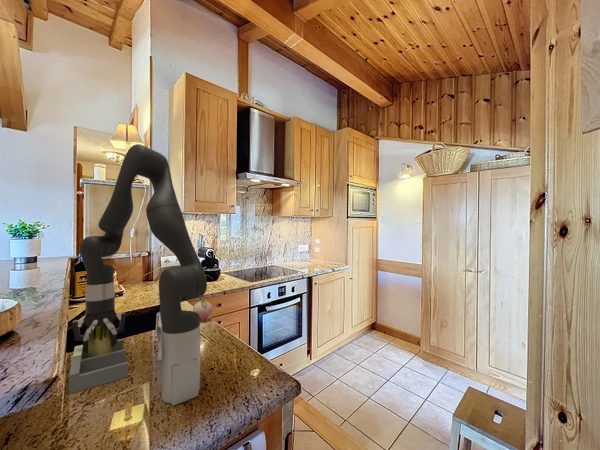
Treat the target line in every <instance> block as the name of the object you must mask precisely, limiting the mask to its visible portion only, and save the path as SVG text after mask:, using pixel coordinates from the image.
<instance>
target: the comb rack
mask: <svg viewBox="0 0 600 450" xmlns="http://www.w3.org/2000/svg"><path fill="white" fill-rule="evenodd" d="M73 349H74V350H73V353H72V354H73V355H72V359H71V365H70V368H69V369H70V370H69V373H68V374H69V375H68V395H73V394H75V393H76V394H77V393H79V392H82V391H85V390H88V389H89V390H90V389H92V388H95V387H99V386H103V385H106V384H109V383H112V382H116V381H119V380H122V379H126V378H129V361H126V360H127V358H126V353H127V352H126V351H127V350H126V348H124V338H121V339H120V338H119V339H117V343H116V344H114V346H113V347H112V352H111V353H107V354H103V355H99V356H94V357H90V358H89V357H88V352H87V353H86V351H83V344H80V345H75V346H74V348H73ZM72 393H73V394H72Z"/></svg>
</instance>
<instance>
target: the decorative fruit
mask: <svg viewBox="0 0 600 450" xmlns="http://www.w3.org/2000/svg"><path fill="white" fill-rule="evenodd" d="M192 311H193V312H196V313H198V314H199V316H200V320H202V321H204V319H205V320H207V319H208V318H209V317H210V315H211V314H212V312H213V305H212V304H211V303H210V302H208V301H207V300H206V299H204V298H202V299H200V300H199V301H198V302H196V303H195V304H194V306H193V307H192Z"/></svg>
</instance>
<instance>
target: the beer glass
mask: <svg viewBox="0 0 600 450" xmlns="http://www.w3.org/2000/svg"><path fill="white" fill-rule="evenodd" d="M155 332H156V333H155V334H156V338H157V343H158V344H157V345H158V353H157V359H156V360H157V361H159V362H162V323H161V317H160V311H158V312H157V313H156V318H155Z"/></svg>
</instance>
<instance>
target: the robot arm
mask: <svg viewBox="0 0 600 450" xmlns="http://www.w3.org/2000/svg"><path fill="white" fill-rule="evenodd" d="M124 155H125V156H124V158H123V160H122V163H121V165H120V166H121V167H120V170H119V172H118V175H117V179H116V182H115V185H114V189H113V192H112V194H111V197H110V200H109V202H108V204H107V206H106V208H105V210H104V212H103V214H102V216H101V217H100V219H99V221H98V224H97V226H98V228H99V229H100V230H101V231H103V232H104V234H103V235H89V236H86V237H84V238H83V239H82V241H81V243H80V244H79V254H80V257H81V260H82V262H83V263H82V264H83V266H84V268H85V271H86V288H85V316H84V318H82V319H74V320H73V322H72V323H71V324H72V329H73V334H74V340H75V341H76V342H78V341H81V342H82V345H83V351H86V353H87V352H88V345H89V334H91V331H90V330H91V329H94V331H96V326H97V327H99V326H101V328H107V327H108V328H109V330H110V331H111V332H110V333H111V341H112V347H113V346H114V344H116V343H117V340H118V334H119V333H122V332H123V331H124V330H125V323H126V318H127V317H126V316H127V314H126V311H121V312H116V302H115V300H116V299H115V298H116V297H115V296H116V291H115V289H116V288H115V281H114V280H115V278H114V275H115V274H114V273H115V270H114V266H113V264H108V263H104V261H103V258H105V257H111V256H113V255H115V254H116V253H118V251H119V250H120V248H121V245H122V241H123V237H124V231H125V229H126V226H127V225H128V223H129V221H130V219H131V217H132V215H133V212H134V200H133V193H132V187H133V184H134V180H135V178H136V177H137V176H140V177H143V178H146V179H148V180H149V181H150V183H151V185H152V189H153V193H152V195H151V197H150V198H149V201H148V202H147V205H146V208H145V213H146V217H147V221H148V222H147V223H148V225H149V228H150V231H151V233H152V235H153V236H154V237H155V238H156V239H157V240H158V241H159V242H160V243H162V244H163V246H165V247H166V248H167V249H169V251H170V252H171V253H173V254H174V256H175V257H176V259H177V261H178V263H179V265H180V266H174V267H173V266H172V267H167V268H164V269H163V270H162V271H161V273H160V274H159V275H160V276H159V278H158V279H159V280H158V298H159V299H158V300H159V312H160V317H161V323H162V361H161V399H162V401H163V402H164V403H167V404H171V406H177V405H178V404H181V403H184V402H186V401H189V400H191V399H194V398H197V397H199V391H200V390H201V319H200V316H199V314H198V313H196V312H193V310H186V309H185V310H183V309H182V304H181V303H182V302H183V303H184V302H187V301H191V300H194V299H199V298H202V297H203V296H204V295H206V292H207V288H208V281H207V280H208V279H207V275H206V273H205V272H206V271H205V270H204V267H203V265H202V263H201V260H200V259H199V256H198V254H197V252H196V250H195V247H194V246H193V243H192V241H191V237H190V235H189V232H188V229H187V225H186V222H185V219H184V216H183V212H182V209H181V206H180V205H179V200H178V199H177V196H176V191H175V188H174V184H173V180H172V174H171V169H170V165H169V162H168V159H167V157H166V156H165V155H163V154H162V153H161V152H158V151H156V150H154V149H153V148H149V147H147V146H146V145H143V144H141V143H140V144H139V143H136V144H133V145H132V146H131V147H130V148H129V149H128V150H127V151H126V153H125V154H124ZM116 317H117V319H118V320H119V326H118V327H117V328H116V326H115V325H114V324H113V321H114V320H115V319H116ZM83 323H84V324H85V325H86V326H88V327H87V329H86V331H85V332H84V334H81V330H80V328H82V325H83Z"/></svg>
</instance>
